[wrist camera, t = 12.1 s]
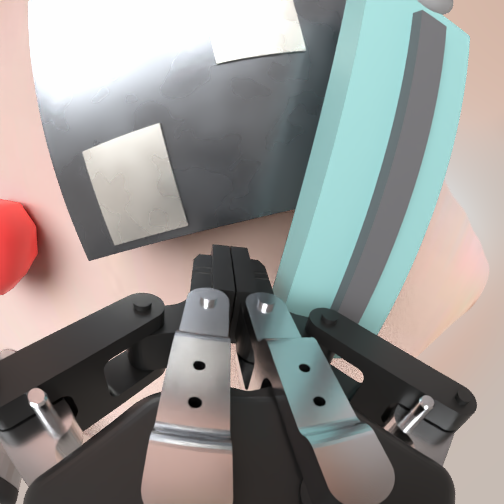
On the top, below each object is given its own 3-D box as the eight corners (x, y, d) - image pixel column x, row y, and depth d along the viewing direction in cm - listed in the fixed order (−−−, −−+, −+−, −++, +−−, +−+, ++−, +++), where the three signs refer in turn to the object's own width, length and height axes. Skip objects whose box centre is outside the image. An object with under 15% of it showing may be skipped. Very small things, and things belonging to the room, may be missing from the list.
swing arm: (355, -48, 6) (382, -72, 4) (444, 2, 7) (478, -7, 5) (260, 326, 14) (268, 366, 11) (350, 332, 15) (368, 366, 12)
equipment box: (363, 158, 21) (449, 195, 12) (127, 212, 21) (72, 283, 12) (324, -23, 14) (386, -82, 5) (82, 28, 14) (6, -8, 5)
